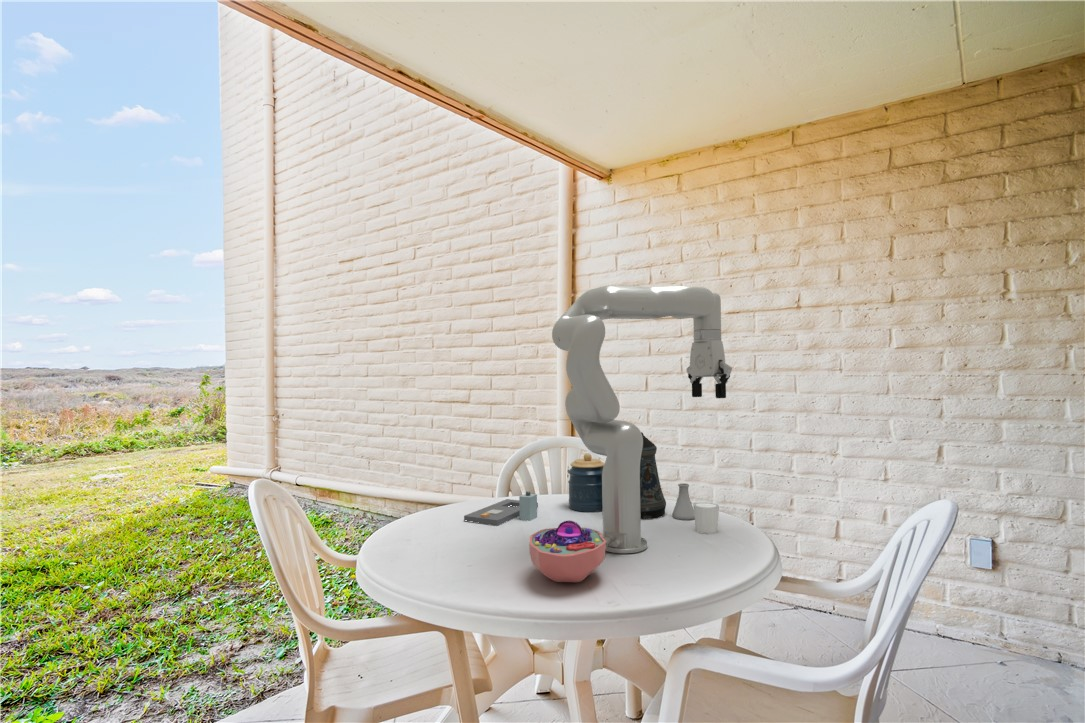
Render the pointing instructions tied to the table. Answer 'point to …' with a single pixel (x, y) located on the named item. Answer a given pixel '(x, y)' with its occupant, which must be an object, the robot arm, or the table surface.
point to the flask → (683, 504)
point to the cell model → (567, 552)
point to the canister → (586, 484)
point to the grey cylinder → (706, 517)
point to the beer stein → (650, 483)
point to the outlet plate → (496, 513)
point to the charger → (528, 506)
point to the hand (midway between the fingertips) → (708, 397)
